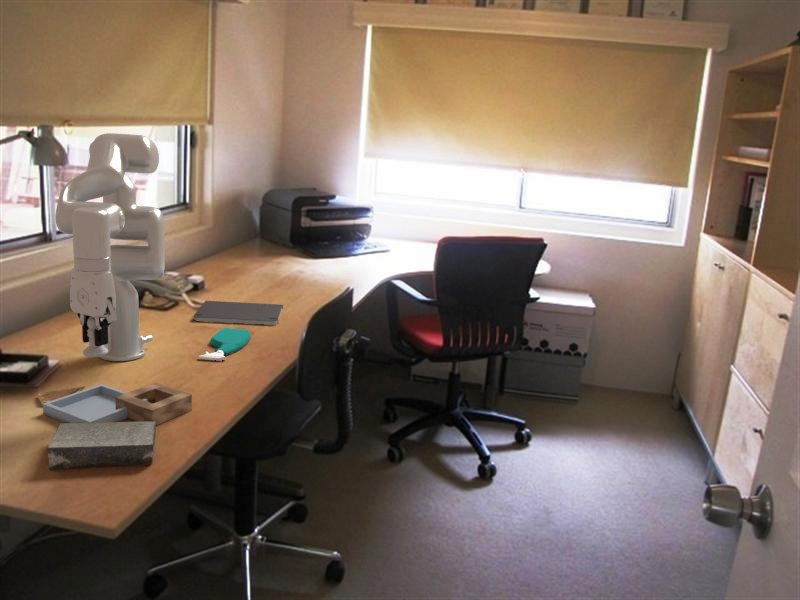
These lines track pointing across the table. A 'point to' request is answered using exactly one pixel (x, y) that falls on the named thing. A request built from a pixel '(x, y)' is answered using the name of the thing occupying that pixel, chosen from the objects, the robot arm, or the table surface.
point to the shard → (57, 394)
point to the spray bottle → (227, 343)
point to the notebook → (239, 312)
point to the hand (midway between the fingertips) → (95, 342)
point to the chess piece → (93, 341)
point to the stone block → (102, 445)
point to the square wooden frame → (155, 403)
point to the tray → (88, 406)
